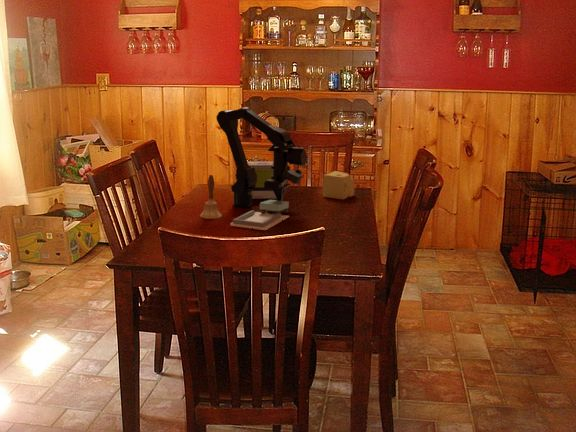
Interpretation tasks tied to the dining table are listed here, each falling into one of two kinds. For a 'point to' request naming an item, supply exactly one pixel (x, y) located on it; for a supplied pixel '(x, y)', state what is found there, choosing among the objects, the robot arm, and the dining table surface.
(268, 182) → the robot arm
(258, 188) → the tea box
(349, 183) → the cheese
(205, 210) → the hand bell
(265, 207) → the sage green box
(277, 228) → the dining table surface
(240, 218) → the dock
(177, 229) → the dining table surface
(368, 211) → the dining table surface
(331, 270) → the dining table surface
